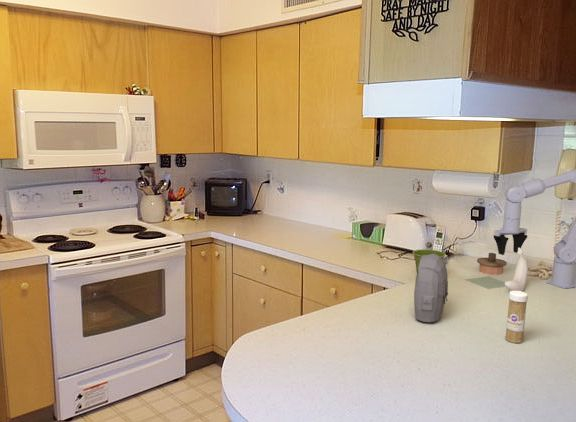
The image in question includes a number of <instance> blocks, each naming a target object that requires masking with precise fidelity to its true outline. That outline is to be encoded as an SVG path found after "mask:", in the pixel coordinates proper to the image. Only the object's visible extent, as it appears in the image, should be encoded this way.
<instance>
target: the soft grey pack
mask: <svg viewBox="0 0 576 422" xmlns="http://www.w3.org/2000/svg"><path fill="white" fill-rule="evenodd" d="M448 284H449V281H448V271H447V267H446V263H445V261H444V259H442V258H441V257H440V256H438V255H436V254H430V255H423V256H422V258H421V259H420V263H419V267H418V272H417V271H416V277H415V284H414V289H413V290H414V291H413V292H414V293H413V300H414V301H413V305H414V306H413V307H414V317H415V319H417V320H418V321H420V322H423V323H434V322H437V321H438V320H439V319H440V318H441V316H442V314H443V312H444V307H445V305H446V302H448V295H449V292H448V291H449V285H448Z"/></svg>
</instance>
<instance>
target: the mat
mask: <svg viewBox="0 0 576 422" xmlns="http://www.w3.org/2000/svg"><path fill="white" fill-rule="evenodd" d="M464 281H465V282H466V281H467V282H469V283H471V284H475V285H477V286H480V287H483V288H485V289H488V290H490V289H491V290H492V289H496V288H497V289H498V288H504V287H505V282H506V281H503V280H499V279H497V278H494V277H491V276H483V277H481V276H480V277H476V278H473V277H472V278H467V279H464ZM505 288H506V287H505Z"/></svg>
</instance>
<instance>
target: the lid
mask: <svg viewBox="0 0 576 422" xmlns="http://www.w3.org/2000/svg"><path fill="white" fill-rule="evenodd" d="M476 263H477V264H479V265H480V264H482V265H486V266H494V267H502V266H503V267H506V266H507V263H508V261H506V260H504V259H499V258H497V253H495V252H488V256H487V257H479V258H477V259H476Z"/></svg>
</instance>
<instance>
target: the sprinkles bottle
mask: <svg viewBox="0 0 576 422" xmlns="http://www.w3.org/2000/svg"><path fill="white" fill-rule="evenodd" d="M528 298H529V295H528V293H527V292H524V291H509V293H508V300H509V301H508V309H507V316H506V317H507V318H506V326H505V327H506V329H505V330H506V331H505V337H504V339H505V340H506V341H507V342H509V343H513V344H522V343H523V342H524V339H523V338H524V330H525V324H526V323H525V322H526V313H527V312H526V311H527V302H528Z"/></svg>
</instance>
